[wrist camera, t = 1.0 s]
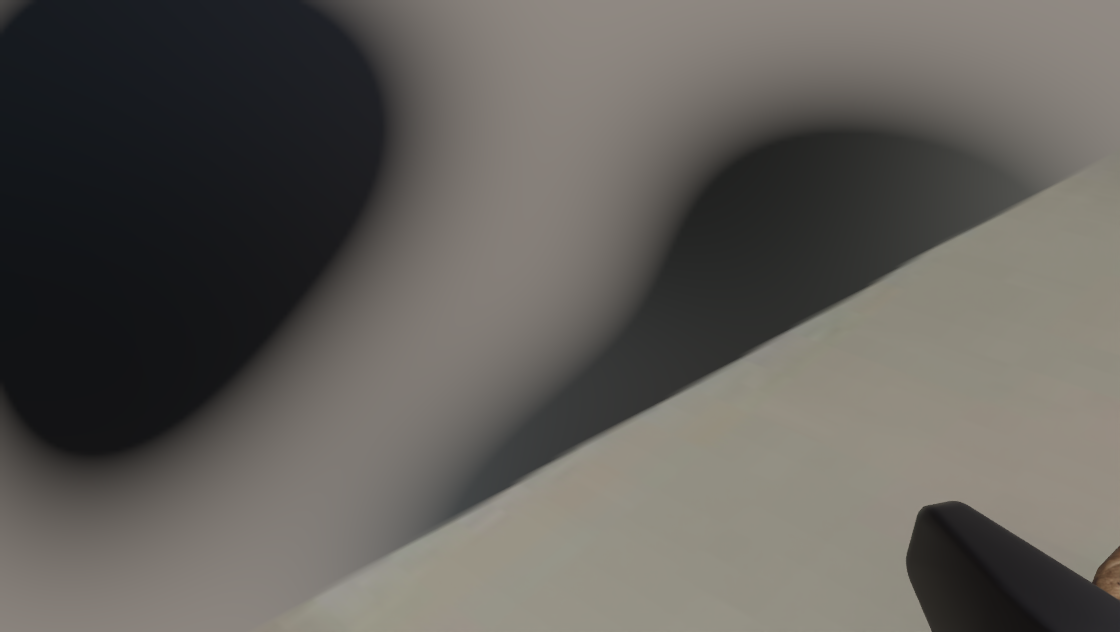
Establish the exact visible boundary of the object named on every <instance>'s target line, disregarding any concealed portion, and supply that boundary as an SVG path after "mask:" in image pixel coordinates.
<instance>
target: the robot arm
mask: <svg viewBox="0 0 1120 632" xmlns="http://www.w3.org/2000/svg"><path fill="white" fill-rule="evenodd" d="M906 566H907V572H908V576H909V579H910V581H911V584H912V586H913V588H914V591H915V593H916V595H917V598H918V600H919V602H920V605H921V607H922V609H923V612H924V614H925V616H926V619H927V621H928V623H929V626H930V628H931V630H932V632H1120V600H1118V599H1117V598H1115V597H1114V596H1112V595H1110V594H1109V593H1107V592H1106V591H1104V590H1102V589H1101V588H1099V587H1098V586H1096V585H1094V584H1093V583H1091V582H1090V581H1088V580H1086V579H1085V578H1083V577H1082V576H1080V575H1078V574H1077V573H1075V572H1074V571H1072V570H1070V569H1069V568H1067V567H1066V566H1064V565H1062V564H1061V563H1059V562H1058V561H1056V560H1054V559H1053V558H1051V557H1050V556H1048V555H1046V554H1045V553H1043V552H1042V551H1040V550H1038V549H1037V548H1035V547H1034V546H1032V545H1030V544H1029V543H1027V542H1026V541H1024V540H1022V539H1021V538H1019V537H1018V536H1016V535H1014V534H1013V533H1011V532H1010V531H1008V530H1006V529H1005V528H1003V527H1002V526H1000V525H998V524H997V523H995V522H994V521H992V520H990V519H989V518H987V517H986V516H984V515H982V514H981V513H979V512H978V511H976V510H974V509H973V508H971V507H970V506H968V505H966V504H964V503H961V502H958V501H949V502H944V503H938V504H933V505H928V506H925V507H923V508H922V509H921V510H920V511H919V513H918V515H917V518H916V522H915V526H914V529H913V533H912V537H911V541H910V544H909V548H908V552H907V556H906Z"/></svg>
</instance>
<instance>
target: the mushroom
mask: <svg viewBox="0 0 1120 632" xmlns="http://www.w3.org/2000/svg"><path fill="white" fill-rule="evenodd" d="M1092 583H1093V584H1094V585H1096V586H1098V587H1099V588H1101V589H1102V590H1104V591H1106V592H1107V593H1109V594H1110V595H1112V596H1114V597H1115V598H1117V599H1118V600H1120V546H1119V547H1118V548H1117V549H1116V550H1115V551H1114V552H1113V553H1112V554H1111V555H1110V556H1109V557H1108V558H1107V559H1106V561H1105V562H1104V563H1103V564H1102V565H1101V566H1100V567H1099V568H1098V570H1097V572H1096V575H1095V577H1094V580H1093V582H1092Z"/></svg>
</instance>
